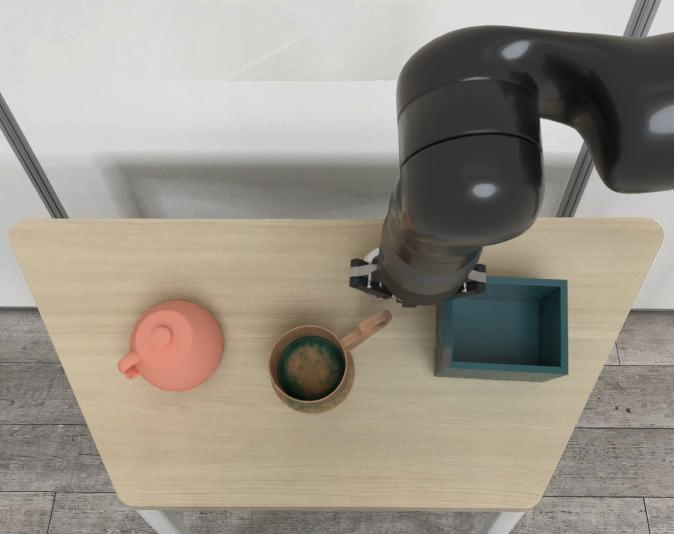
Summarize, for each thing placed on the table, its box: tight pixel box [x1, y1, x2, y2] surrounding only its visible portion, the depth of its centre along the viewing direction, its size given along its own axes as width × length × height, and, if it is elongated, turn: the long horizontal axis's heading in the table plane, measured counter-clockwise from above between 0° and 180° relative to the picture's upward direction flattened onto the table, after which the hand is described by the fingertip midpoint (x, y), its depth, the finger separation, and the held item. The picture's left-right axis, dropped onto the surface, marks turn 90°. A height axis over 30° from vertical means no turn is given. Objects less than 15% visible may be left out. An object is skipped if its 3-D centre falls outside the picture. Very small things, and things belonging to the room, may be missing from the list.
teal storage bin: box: [433, 275, 569, 383], centre depth 80 cm, size 15×12×10 cm
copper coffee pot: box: [267, 308, 393, 415], centre depth 79 cm, size 12×18×12 cm, turn 121°
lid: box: [442, 299, 453, 368], centre depth 67 cm, size 16×12×1 cm
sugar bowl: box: [116, 300, 224, 393], centre depth 80 cm, size 12×14×10 cm
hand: (408, 298), depth 64 cm, fingers closed
